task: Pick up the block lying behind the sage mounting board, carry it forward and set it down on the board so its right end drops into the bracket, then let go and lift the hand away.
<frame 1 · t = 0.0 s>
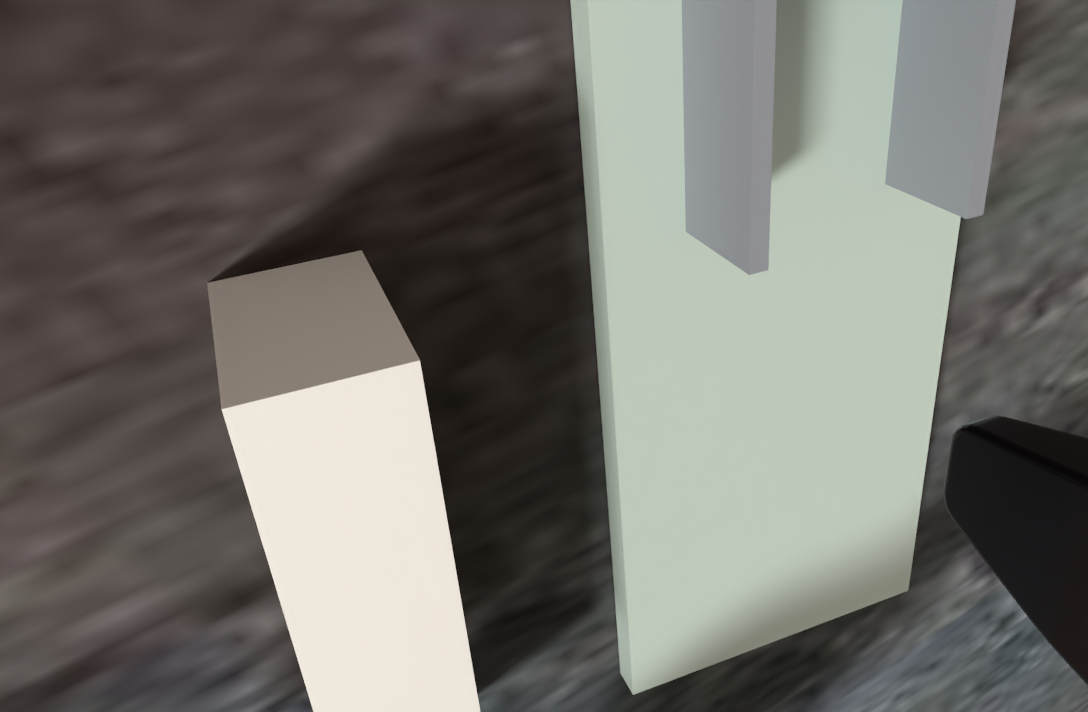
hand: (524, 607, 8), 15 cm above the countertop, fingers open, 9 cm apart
bracket board: (771, 324, 27), on the countertop
block: (349, 531, 25), on the countertop
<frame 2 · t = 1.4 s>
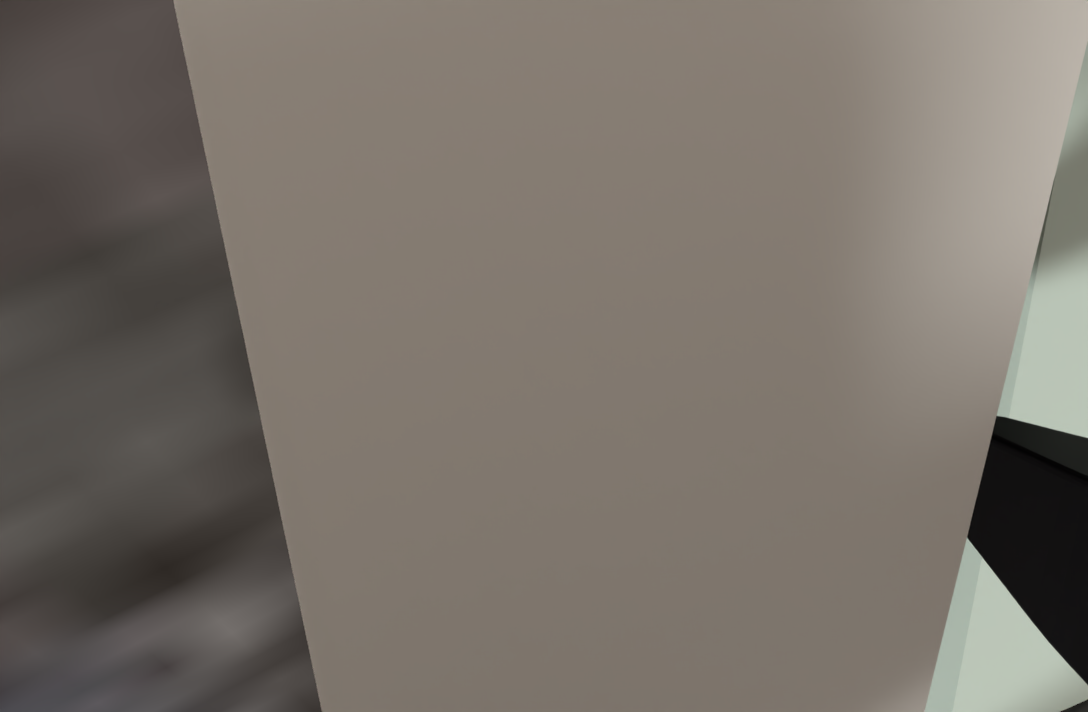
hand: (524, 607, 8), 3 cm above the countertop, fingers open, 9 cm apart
block: (428, 410, 11), on the countertop
when the fingers open (3 cm above the countertop, at t = 7.0 s): block drops 1 cm, resting on bracket board.
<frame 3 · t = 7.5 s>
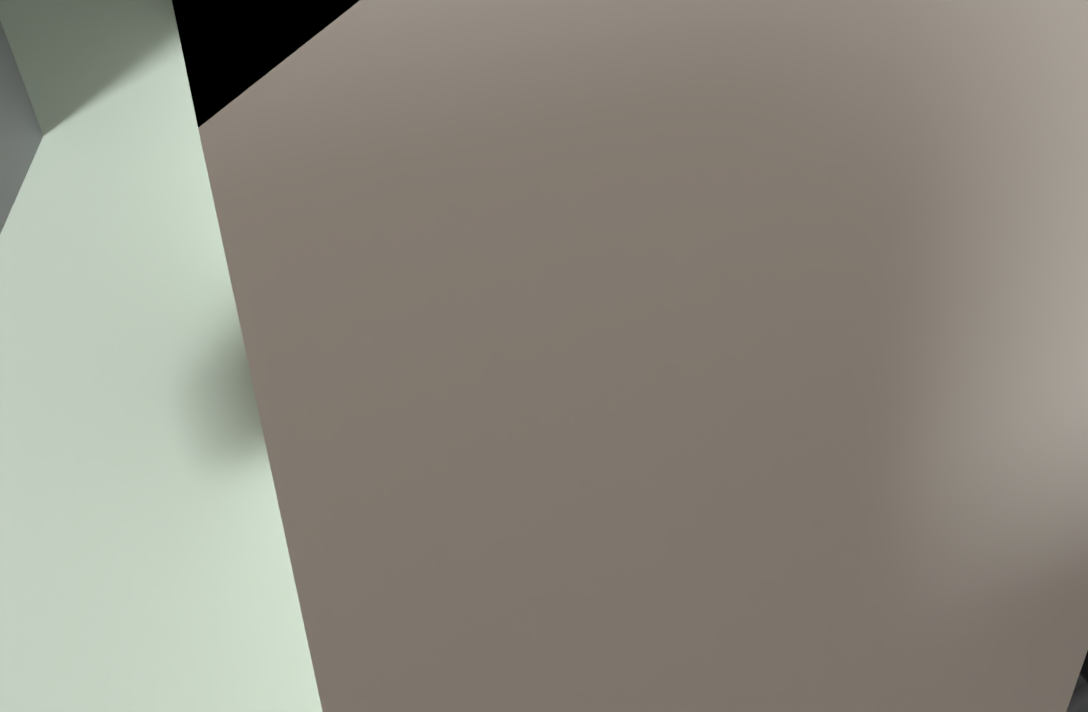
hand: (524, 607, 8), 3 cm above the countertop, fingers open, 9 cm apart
bracket board: (428, 406, 11), on the countertop
block: (448, 448, 10), point 1 cm above the countertop, touching bracket board
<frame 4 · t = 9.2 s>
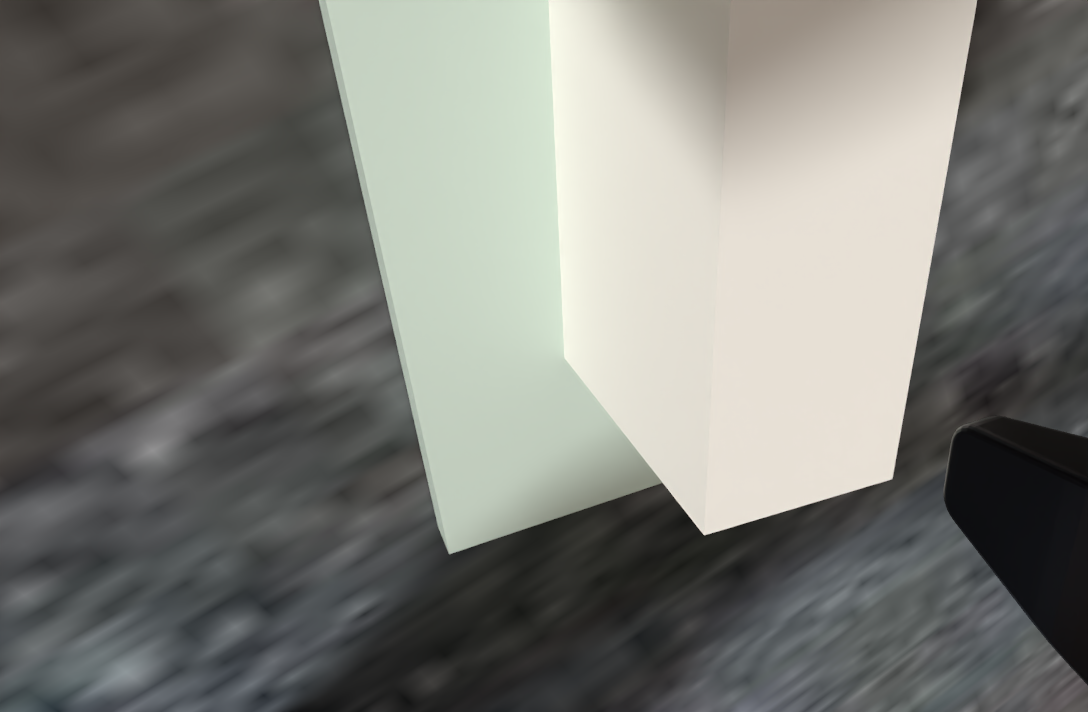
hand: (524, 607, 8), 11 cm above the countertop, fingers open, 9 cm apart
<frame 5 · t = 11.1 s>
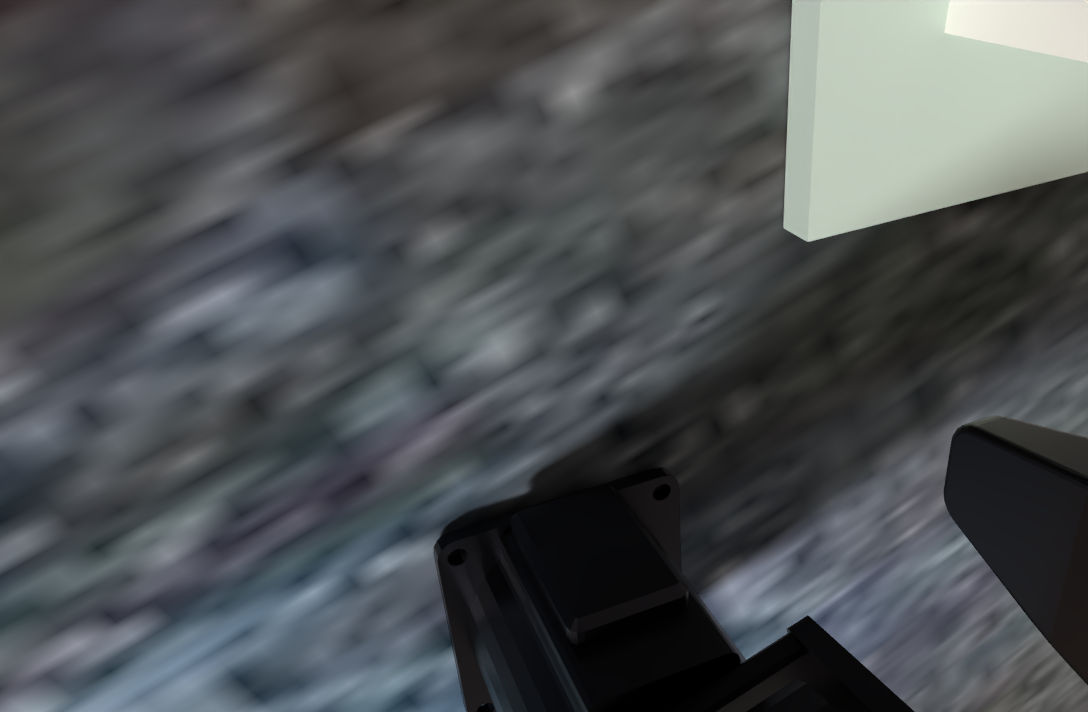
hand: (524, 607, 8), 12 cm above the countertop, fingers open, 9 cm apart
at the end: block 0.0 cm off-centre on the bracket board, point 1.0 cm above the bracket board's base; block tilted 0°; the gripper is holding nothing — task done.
